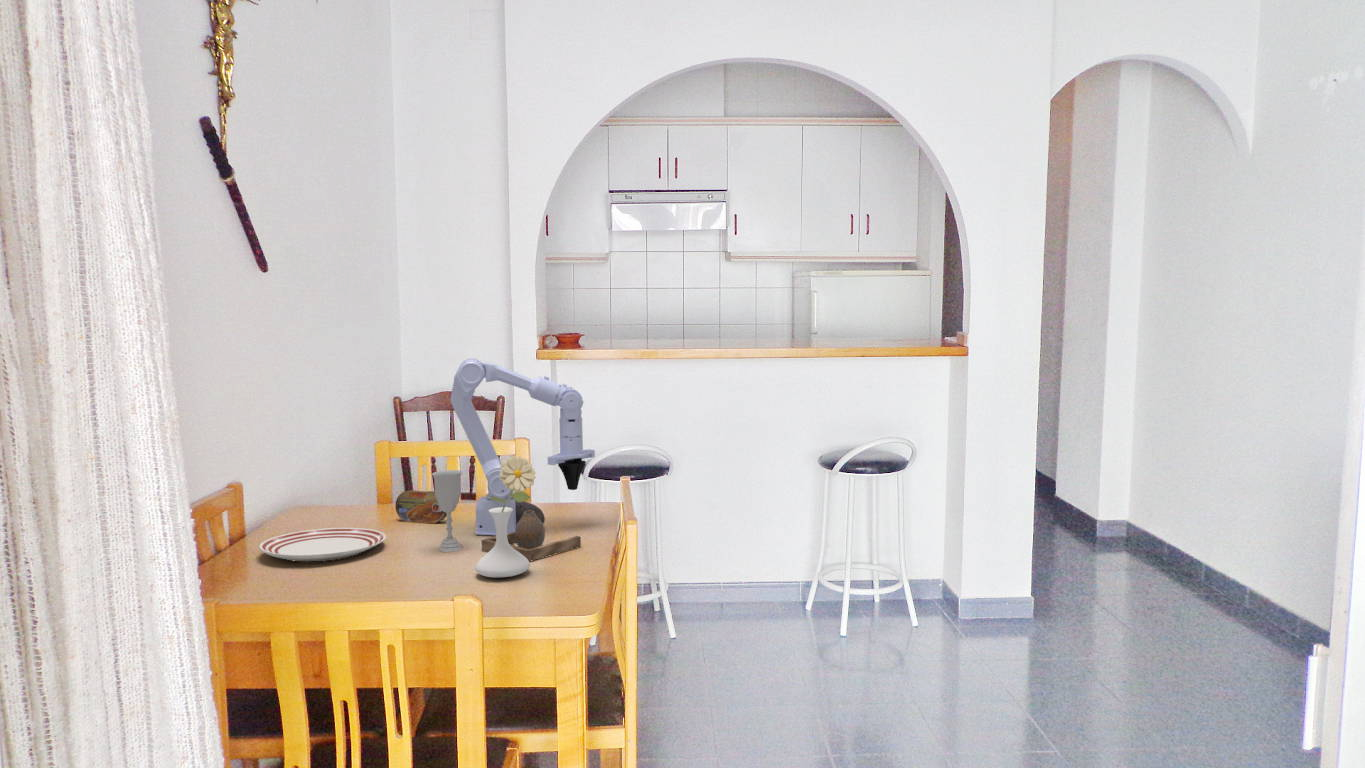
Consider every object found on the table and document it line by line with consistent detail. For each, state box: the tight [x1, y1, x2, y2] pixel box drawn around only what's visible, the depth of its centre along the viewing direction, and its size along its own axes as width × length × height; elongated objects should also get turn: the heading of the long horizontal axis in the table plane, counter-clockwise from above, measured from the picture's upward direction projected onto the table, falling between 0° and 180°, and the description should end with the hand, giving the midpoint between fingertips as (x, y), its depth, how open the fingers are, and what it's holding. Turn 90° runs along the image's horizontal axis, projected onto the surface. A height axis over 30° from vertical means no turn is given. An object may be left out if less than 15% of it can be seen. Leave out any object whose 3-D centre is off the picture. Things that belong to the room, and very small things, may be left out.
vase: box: [515, 511, 546, 549], centre depth 212 cm, size 7×7×9 cm
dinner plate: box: [258, 527, 387, 562], centre depth 213 cm, size 27×27×3 cm
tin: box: [394, 490, 447, 524], centre depth 242 cm, size 15×3×8 cm, turn 73°
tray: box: [481, 532, 582, 561], centre depth 212 cm, size 16×16×2 cm
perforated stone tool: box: [516, 501, 546, 525], centre depth 234 cm, size 15×5×7 cm, turn 60°
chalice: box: [431, 469, 463, 553], centre depth 213 cm, size 7×7×18 cm
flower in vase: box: [474, 455, 536, 579], centre depth 192 cm, size 13×11×25 cm
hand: (572, 489), depth 232 cm, fingers closed
